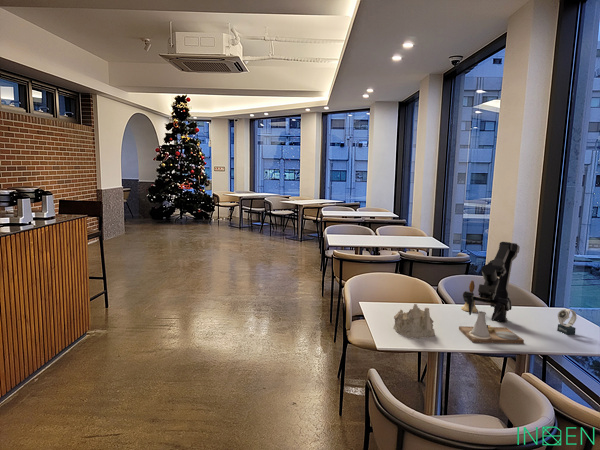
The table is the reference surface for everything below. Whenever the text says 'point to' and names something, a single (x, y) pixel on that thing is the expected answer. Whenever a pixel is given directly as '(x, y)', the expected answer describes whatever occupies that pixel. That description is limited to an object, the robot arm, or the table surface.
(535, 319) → the table surface
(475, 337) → the gear board
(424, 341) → the table surface
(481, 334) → the flask
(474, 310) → the hand bell
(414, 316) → the ceramic cottage
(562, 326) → the watch
